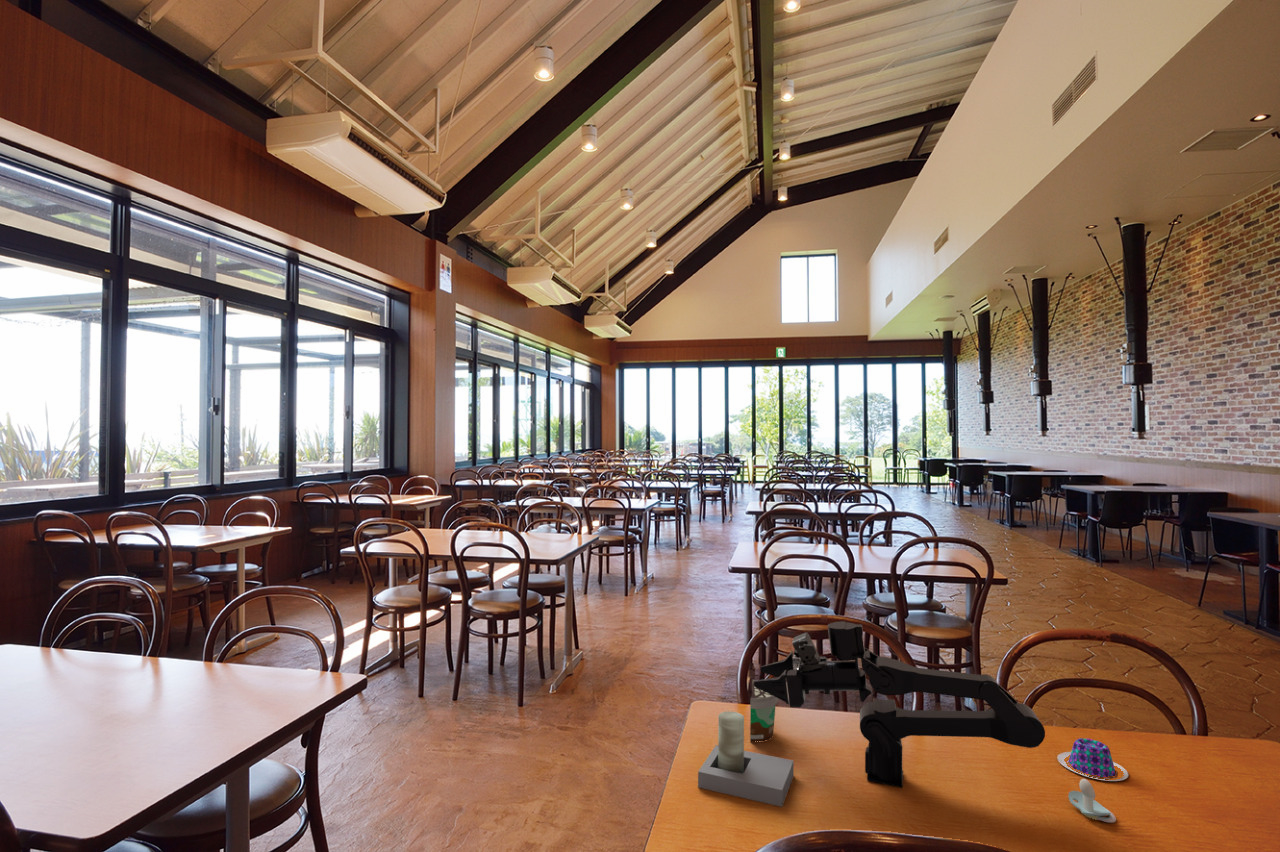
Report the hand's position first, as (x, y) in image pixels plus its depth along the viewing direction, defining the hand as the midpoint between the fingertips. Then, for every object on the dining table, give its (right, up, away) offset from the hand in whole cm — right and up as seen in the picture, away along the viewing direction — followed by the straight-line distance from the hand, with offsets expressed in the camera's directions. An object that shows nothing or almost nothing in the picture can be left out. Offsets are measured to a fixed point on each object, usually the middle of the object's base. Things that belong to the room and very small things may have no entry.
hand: (757, 676), depth 137 cm
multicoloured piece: (+68, -18, -4) cm, 71 cm away
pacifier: (+57, -17, -20) cm, 63 cm away
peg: (-7, -16, -10) cm, 20 cm away
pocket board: (-4, -16, -11) cm, 20 cm away
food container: (+3, -17, +10) cm, 20 cm away
